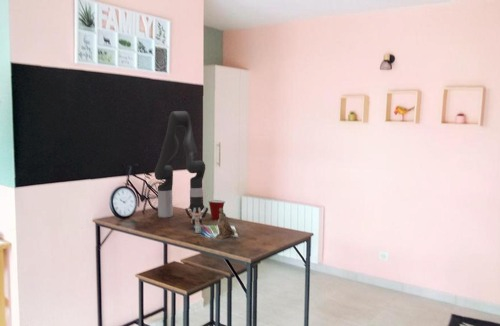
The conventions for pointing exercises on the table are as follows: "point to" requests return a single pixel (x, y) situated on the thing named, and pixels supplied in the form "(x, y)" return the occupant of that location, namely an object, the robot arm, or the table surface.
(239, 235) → the table surface
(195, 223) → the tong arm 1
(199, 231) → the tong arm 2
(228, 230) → the brown carved statuette
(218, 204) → the plastic cup
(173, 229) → the table surface
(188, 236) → the table surface
